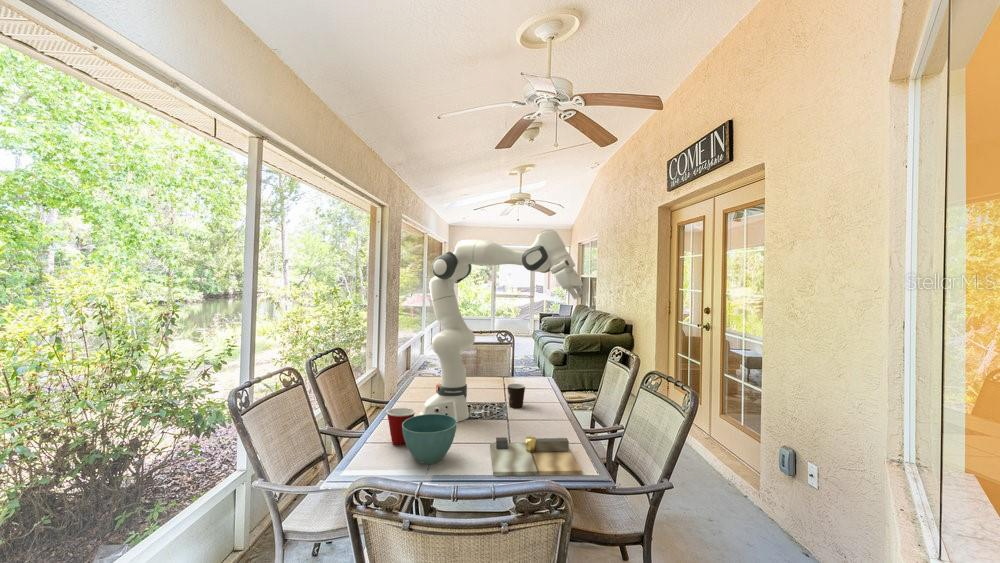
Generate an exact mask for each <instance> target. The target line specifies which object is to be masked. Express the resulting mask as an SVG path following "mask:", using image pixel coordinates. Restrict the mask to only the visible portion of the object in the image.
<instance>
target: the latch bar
mask: <svg viewBox="0 0 1000 563" xmlns="http://www.w3.org/2000/svg"><path fill="white" fill-rule="evenodd" d="M525 443H526V451H527V452H535V451H536V450H537V452H551V451H569V449H570V447H569V446H570V444H569V443H570V441H569V439H568V438H567V437H552V438H551V437H549V438H548V437H547V438H543V437H541V438H536V437H534V436H527V437H525Z"/></svg>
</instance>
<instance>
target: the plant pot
mask: <svg viewBox="0 0 1000 563" xmlns="http://www.w3.org/2000/svg"><path fill="white" fill-rule="evenodd" d="M457 425H458V422H457V421H456V419H455V418H453V417H451V416H448V415H443V414H425V415H419V416H418V415H414V417H411V418H409V419H407V420H405V421H404V422H403V423H402V430H403V436H404V440H405V443H406V444H405V446H406V448H407V449H408V451H409V453H410V454H411V455H412V457H413V458H414V459H415V460H416V461H417V462H419V463H420V464H426V465H431V464H436V463H438V462H440V461H441V460H443V458H444V457H445V456H446V455H447V453H448V452H449V450H450V448H451V446H452V444H453V442H454V438H455V436H456V432H457Z"/></svg>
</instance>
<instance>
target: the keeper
mask: <svg viewBox="0 0 1000 563" xmlns="http://www.w3.org/2000/svg"><path fill="white" fill-rule="evenodd" d="M495 443H496V449H508V443H509V440H508V437H507V436H506V437H504V436H503V437H502V436H501V437H495Z"/></svg>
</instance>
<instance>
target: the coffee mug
mask: <svg viewBox="0 0 1000 563" xmlns="http://www.w3.org/2000/svg"><path fill="white" fill-rule="evenodd" d="M525 389H526V385H525V384H522V383H510V384H507V394H508V395H507V396H508V407H509V408H511V409H515V410H516V409H518V410H519V409H522V408H523V406H524V398H525V392H526V390H525Z"/></svg>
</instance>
